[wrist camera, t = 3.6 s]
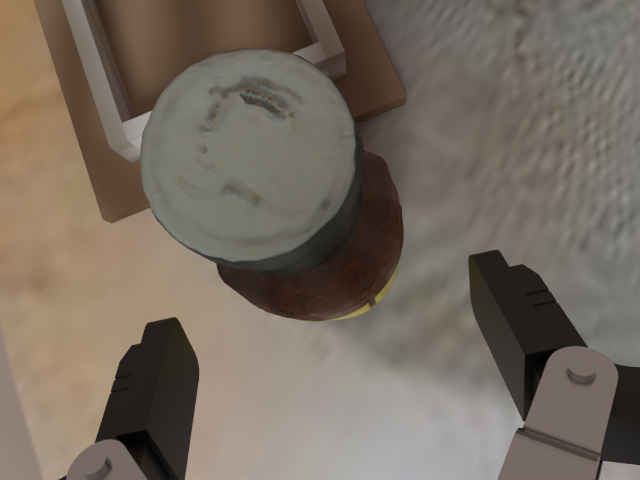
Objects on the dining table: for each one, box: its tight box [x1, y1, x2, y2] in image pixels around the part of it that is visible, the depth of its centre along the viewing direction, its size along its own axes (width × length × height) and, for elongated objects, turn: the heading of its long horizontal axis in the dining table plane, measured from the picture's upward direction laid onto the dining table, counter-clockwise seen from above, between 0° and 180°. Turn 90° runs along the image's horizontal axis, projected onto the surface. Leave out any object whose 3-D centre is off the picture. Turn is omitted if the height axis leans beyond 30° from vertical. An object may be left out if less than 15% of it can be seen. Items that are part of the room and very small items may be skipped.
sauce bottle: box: [140, 48, 404, 322], centre depth 19 cm, size 7×6×20 cm
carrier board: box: [34, 0, 406, 223], centre depth 30 cm, size 18×18×4 cm
